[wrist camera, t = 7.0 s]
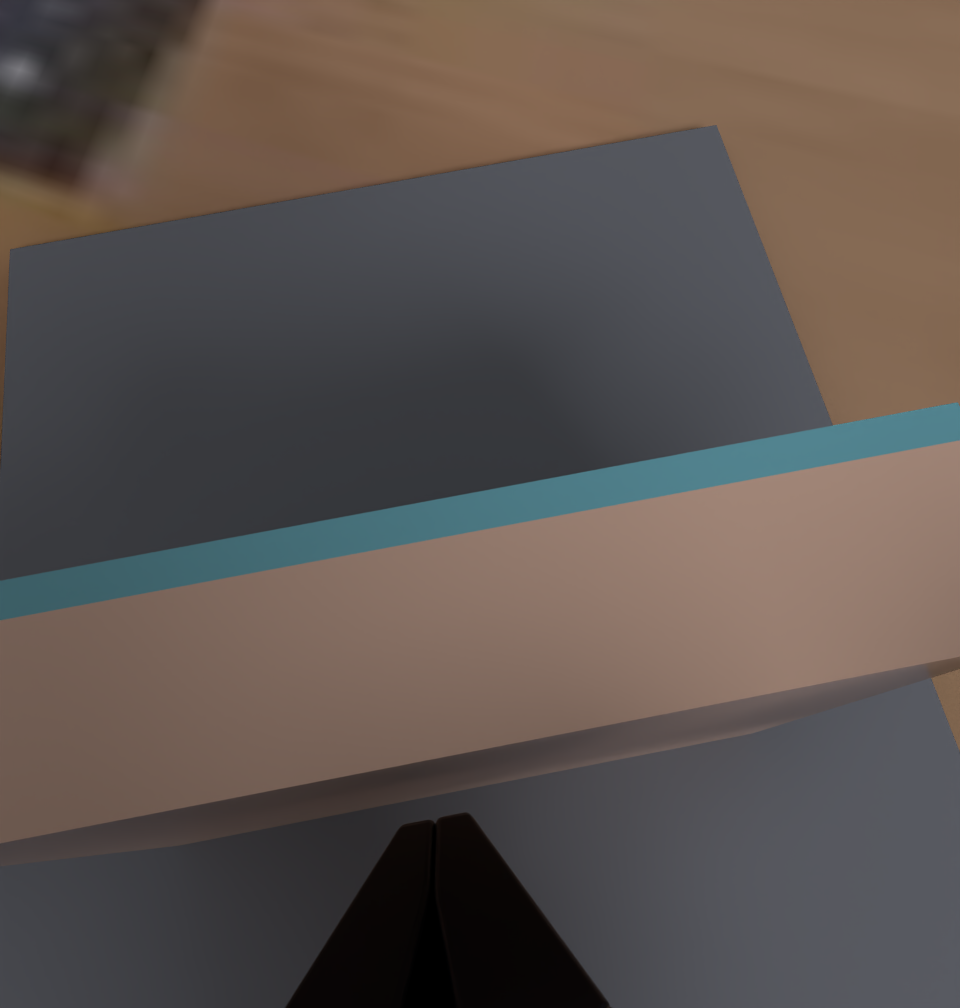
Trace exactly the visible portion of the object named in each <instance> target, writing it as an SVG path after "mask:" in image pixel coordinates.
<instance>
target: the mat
mask: <svg viewBox="0 0 960 1008" xmlns="http://www.w3.org/2000/svg"><path fill="white" fill-rule="evenodd" d="M828 426H833V425H832V422H831V419H830V417H829V414H828V412H827V409H826V407H825V404H824V401H823V399H822V396H821V394H820V391H819V389H818V386H817V383H816V381H815V378H814V376H813V373H812V370H811V368H810V365H809V363H808V360H807V358H806V355H805V352H804V350H803V347H802V345H801V342H800V340H799V337H798V334H797V332H796V329H795V327H794V324H793V322H792V319H791V316H790V314H789V311H788V309H787V306H786V304H785V301H784V298H783V296H782V293H781V291H780V288H779V285H778V283H777V280H776V278H775V275H774V273H773V270H772V267H771V265H770V262H769V260H768V257H767V255H766V252H765V249H764V247H763V244H762V242H761V239H760V237H759V234H758V231H757V229H756V226H755V224H754V221H753V218H752V216H751V213H750V211H749V208H748V206H747V203H746V200H745V198H744V195H743V193H742V190H741V188H740V185H739V182H738V180H737V177H736V175H735V172H734V170H733V167H732V164H731V162H730V159H729V157H728V154H727V152H726V149H725V146H724V144H723V141H722V139H721V136H720V133H719V131H718V128H717V126H716V125H714V126H709V127H703V128H697V129H692V130H686V131H680V132H675V133H669V134H663V135H658V136H652V137H646V138H641V139H635V140H629V141H624V142H618V143H612V144H606V145H601V146H595V147H589V148H584V149H578V150H572V151H567V152H561V153H555V154H550V155H544V156H538V157H533V158H527V159H521V160H516V161H510V162H504V163H499V164H493V165H487V166H482V167H476V168H470V169H465V170H459V171H453V172H448V173H442V174H436V175H430V176H425V177H419V178H413V179H408V180H402V181H396V182H391V183H385V184H379V185H374V186H368V187H362V188H357V189H351V190H345V191H340V192H334V193H328V194H323V195H317V196H311V197H306V198H300V199H294V200H289V201H283V202H277V203H272V204H266V205H260V206H254V207H249V208H243V209H237V210H232V211H226V212H220V213H215V214H209V215H203V216H198V217H192V218H186V219H181V220H175V221H169V222H164V223H158V224H152V225H147V226H141V227H135V228H130V229H124V230H118V231H113V232H107V233H101V234H96V235H90V236H84V237H79V238H73V239H67V240H61V241H56V242H50V243H44V244H39V245H33V246H27V247H22V248H16V249H10V264H9V287H8V309H7V332H6V355H5V378H4V401H3V423H2V446H1V469H0V581H2V580H7V579H13V578H18V577H23V576H29V575H34V574H40V573H45V572H50V571H56V570H61V569H66V568H72V567H77V566H82V565H88V564H93V563H99V562H104V561H109V560H115V559H120V558H125V557H131V556H136V555H141V554H147V553H152V552H158V551H163V550H168V549H174V548H179V547H184V546H190V545H195V544H200V543H206V542H211V541H217V540H222V539H227V538H233V537H238V536H243V535H249V534H254V533H260V532H265V531H270V530H276V529H281V528H286V527H292V526H297V525H302V524H308V523H313V522H319V521H324V520H329V519H335V518H340V517H345V516H351V515H356V514H361V513H367V512H372V511H378V510H383V509H388V508H394V507H399V506H404V505H410V504H415V503H420V502H426V501H431V500H437V499H442V498H447V497H453V496H458V495H463V494H469V493H474V492H479V491H485V490H490V489H496V488H501V487H506V486H512V485H517V484H522V483H528V482H533V481H538V480H544V479H549V478H555V477H560V476H565V475H571V474H576V473H581V472H587V471H592V470H598V469H603V468H608V467H614V466H619V465H624V464H630V463H635V462H640V461H646V460H651V459H657V458H662V457H667V456H673V455H678V454H683V453H689V452H694V451H699V450H705V449H710V448H716V447H721V446H726V445H732V444H737V443H742V442H748V441H753V440H758V439H764V438H769V437H775V436H780V435H785V434H791V433H796V432H801V431H807V430H812V429H817V428H823V427H828ZM463 812H467V813H470V814H471V815H472V816H473V818H474V819H475V820H476V822H477V823H478V824H479V826H480V827H481V829H482V830H483V831H484V833H485V834H486V835H487V837H488V838H489V839H490V841H491V842H492V844H493V845H494V846H495V848H496V849H497V850H498V852H499V853H500V854H501V856H502V857H503V859H504V860H505V861H506V863H507V864H508V865H509V867H510V868H511V869H512V871H513V872H514V874H515V875H516V876H517V878H518V879H519V880H520V882H521V883H522V885H523V886H524V887H525V889H526V890H527V891H528V893H529V894H530V895H531V897H532V898H533V900H534V901H535V902H536V904H537V905H538V906H539V908H540V909H541V910H542V912H543V913H544V915H545V916H546V917H547V919H548V920H549V921H550V923H551V924H552V925H553V927H554V928H555V930H556V931H557V932H558V934H559V935H560V936H561V938H562V939H563V941H564V942H565V943H566V945H567V946H568V947H569V949H570V950H571V951H572V953H573V954H574V956H575V957H576V958H577V960H578V961H579V962H580V964H581V965H582V966H583V968H584V969H585V971H586V972H587V973H588V975H589V976H590V977H591V979H592V980H593V981H594V983H595V984H596V986H597V987H598V988H599V990H600V991H601V992H602V994H603V995H604V997H605V998H606V999H607V1001H608V1002H609V1004H610V1007H613V1008H960V752H959V749H958V747H957V744H956V741H955V739H954V736H953V734H952V731H951V729H950V726H949V723H948V721H947V718H946V716H945V713H944V711H943V708H942V705H941V703H940V700H939V698H938V695H937V693H936V690H935V687H934V685H933V682H932V680H931V678H929V679H926V680H923V681H919V682H916V683H913V684H910V685H906V686H903V687H900V688H897V689H894V690H890V691H887V692H884V693H881V694H878V695H874V696H871V697H868V698H865V699H861V700H858V701H855V702H852V703H849V704H845V705H842V706H839V707H836V708H833V709H829V710H826V711H823V712H820V713H816V714H813V715H810V716H807V717H804V718H800V719H797V720H794V721H791V722H788V723H784V724H781V725H778V726H775V727H771V728H768V729H765V730H762V731H759V732H755V733H752V734H747V735H742V736H737V737H732V738H727V739H721V740H716V741H711V742H706V743H701V744H696V745H691V746H686V747H681V748H675V749H670V750H665V751H660V752H655V753H650V754H645V755H640V756H635V757H629V758H624V759H619V760H614V761H609V762H604V763H599V764H594V765H589V766H583V767H578V768H573V769H568V770H563V771H558V772H553V773H548V774H543V775H537V776H532V777H527V778H522V779H517V780H512V781H507V782H502V783H497V784H491V785H486V786H481V787H476V788H471V789H466V790H461V791H456V792H451V793H445V794H440V795H435V796H430V797H425V798H420V799H415V800H410V801H405V802H400V803H394V804H389V805H384V806H379V807H374V808H369V809H364V810H359V811H354V812H348V813H343V814H338V815H333V816H328V817H323V818H318V819H313V820H308V821H302V822H297V823H292V824H287V825H282V826H277V827H272V828H267V829H262V830H256V831H251V832H246V833H241V834H236V835H231V836H226V837H221V838H216V839H210V840H205V841H200V842H195V843H190V844H185V845H180V846H172V847H163V848H155V849H146V850H137V851H129V852H120V853H111V854H103V855H94V856H85V857H77V858H68V859H59V860H51V861H42V862H33V863H25V864H16V865H7V866H0V1008H285V1006H286V1005H287V1003H288V1002H289V1000H290V998H291V997H292V995H293V994H294V992H295V991H296V989H297V987H298V986H299V984H300V983H301V981H302V980H303V978H304V976H305V975H306V973H307V972H308V970H309V968H310V967H311V965H312V964H313V962H314V961H315V959H316V957H317V956H318V954H319V953H320V951H321V950H322V948H323V946H324V945H325V943H326V942H327V940H328V939H329V937H330V935H331V934H332V932H333V931H334V929H335V927H336V926H337V924H338V923H339V921H340V920H341V918H342V916H343V915H344V913H345V912H346V910H347V909H348V907H349V905H350V904H351V902H352V901H353V899H354V898H355V896H356V894H357V893H358V891H359V890H360V888H361V887H362V885H363V883H364V882H365V880H366V879H367V877H368V875H369V874H370V872H371V871H372V869H373V868H374V866H375V864H376V863H377V861H378V860H379V858H380V857H381V855H382V853H383V852H384V850H385V849H386V847H387V846H388V844H389V842H390V841H391V839H392V838H393V836H394V834H395V833H396V831H397V830H398V829H399V827H400V826H402V825H403V824H407V823H412V822H417V821H422V820H428V819H431V820H433V821H434V822H435V824H436V821H437V819H438V818H440V817H443V816H448V815H453V814H458V813H463Z"/></svg>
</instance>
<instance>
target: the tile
mask: <svg viewBox="0 0 960 1008" xmlns="http://www.w3.org/2000/svg"><path fill="white" fill-rule="evenodd" d="M958 669H960V407H959V404H958V402H957V403H952V404H946V405H941V406H936V407H930V408H925V409H919V410H914V411H909V412H903V413H898V414H893V415H887V416H882V417H876V418H871V419H866V420H860V421H855V422H850V423H844V424H839V425H834V426H828V427H823V428H817V429H812V430H807V431H801V432H796V433H791V434H785V435H780V436H775V437H769V438H764V439H758V440H753V441H748V442H742V443H737V444H732V445H726V446H721V447H716V448H710V449H705V450H699V451H694V452H689V453H683V454H678V455H673V456H667V457H662V458H657V459H651V460H646V461H640V462H635V463H630V464H624V465H619V466H614V467H608V468H603V469H598V470H592V471H587V472H581V473H576V474H571V475H565V476H560V477H555V478H549V479H544V480H538V481H533V482H528V483H522V484H517V485H512V486H506V487H501V488H496V489H490V490H485V491H479V492H474V493H469V494H463V495H458V496H453V497H447V498H442V499H437V500H431V501H426V502H420V503H415V504H410V505H404V506H399V507H394V508H388V509H383V510H378V511H372V512H367V513H361V514H356V515H351V516H345V517H340V518H335V519H329V520H324V521H319V522H313V523H308V524H302V525H297V526H292V527H286V528H281V529H276V530H270V531H265V532H260V533H254V534H249V535H243V536H238V537H233V538H227V539H222V540H217V541H211V542H206V543H200V544H195V545H190V546H184V547H179V548H174V549H168V550H163V551H158V552H152V553H147V554H141V555H136V556H131V557H125V558H120V559H115V560H109V561H104V562H99V563H93V564H88V565H82V566H77V567H72V568H66V569H61V570H56V571H50V572H45V573H40V574H34V575H29V576H23V577H18V578H13V579H7V580H2V581H0V866H7V865H16V864H25V863H33V862H42V861H51V860H59V859H68V858H77V857H85V856H94V855H103V854H111V853H120V852H129V851H137V850H146V849H155V848H163V847H172V846H180V845H185V844H190V843H195V842H200V841H205V840H210V839H216V838H221V837H226V836H231V835H236V834H241V833H246V832H251V831H256V830H262V829H267V828H272V827H277V826H282V825H287V824H292V823H297V822H302V821H308V820H313V819H318V818H323V817H328V816H333V815H338V814H343V813H348V812H354V811H359V810H364V809H369V808H374V807H379V806H384V805H389V804H394V803H400V802H405V801H410V800H415V799H420V798H425V797H430V796H435V795H440V794H445V793H451V792H456V791H461V790H466V789H471V788H476V787H481V786H486V785H491V784H497V783H502V782H507V781H512V780H517V779H522V778H527V777H532V776H537V775H543V774H548V773H553V772H558V771H563V770H568V769H573V768H578V767H583V766H589V765H594V764H599V763H604V762H609V761H614V760H619V759H624V758H629V757H635V756H640V755H645V754H650V753H655V752H660V751H665V750H670V749H675V748H681V747H686V746H691V745H696V744H701V743H706V742H711V741H716V740H721V739H727V738H732V737H737V736H742V735H747V734H752V733H755V732H759V731H762V730H765V729H768V728H771V727H775V726H778V725H781V724H784V723H788V722H791V721H794V720H797V719H800V718H804V717H807V716H810V715H813V714H816V713H820V712H823V711H826V710H829V709H833V708H836V707H839V706H842V705H845V704H849V703H852V702H855V701H858V700H861V699H865V698H868V697H871V696H874V695H878V694H881V693H884V692H887V691H890V690H894V689H897V688H900V687H903V686H906V685H910V684H913V683H916V682H919V681H923V680H926V679H929V678H932V677H935V676H939V675H942V674H945V673H948V672H952V671H955V670H958Z"/></svg>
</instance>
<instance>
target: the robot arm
mask: <svg viewBox="0 0 960 1008" xmlns="http://www.w3.org/2000/svg"><path fill="white" fill-rule="evenodd" d="M285 1008H613V1007H610V1004H609V1002H608V1001H607V999H606V998H605V997H604V995H603V994H602V992H601V991H600V990H599V988H598V987H597V986H596V984H595V983H594V981H593V980H592V979H591V977H590V976H589V975H588V973H587V972H586V971H585V969H584V968H583V966H582V965H581V964H580V962H579V961H578V960H577V958H576V957H575V956H574V954H573V953H572V951H571V950H570V949H569V947H568V946H567V945H566V943H565V942H564V941H563V939H562V938H561V936H560V935H559V934H558V932H557V931H556V930H555V928H554V927H553V925H552V924H551V923H550V921H549V920H548V919H547V917H546V916H545V915H544V913H543V912H542V910H541V909H540V908H539V906H538V905H537V904H536V902H535V901H534V900H533V898H532V897H531V895H530V894H529V893H528V891H527V890H526V889H525V887H524V886H523V885H522V883H521V882H520V880H519V879H518V878H517V876H516V875H515V874H514V872H513V871H512V869H511V868H510V867H509V865H508V864H507V863H506V861H505V860H504V859H503V857H502V856H501V854H500V853H499V852H498V850H497V849H496V848H495V846H494V845H493V844H492V842H491V841H490V839H489V838H488V837H487V835H486V834H485V833H484V831H483V830H482V829H481V827H480V826H479V824H478V823H477V822H476V820H475V819H474V818H473V816H472V815H471V814H470V813H467V812H463V813H458V814H453V815H448V816H443V817H440V818H438V819H437V821H436V824H435V822H434V821H433V820H431V819H428V820H422V821H417V822H412V823H407V824H403V825H402V826H400V827H399V829H398V830H397V831H396V833H395V834H394V836H393V838H392V839H391V841H390V842H389V844H388V846H387V847H386V849H385V850H384V852H383V853H382V855H381V857H380V858H379V860H378V861H377V863H376V864H375V866H374V868H373V869H372V871H371V872H370V874H369V875H368V877H367V879H366V880H365V882H364V883H363V885H362V887H361V888H360V890H359V891H358V893H357V894H356V896H355V898H354V899H353V901H352V902H351V904H350V905H349V907H348V909H347V910H346V912H345V913H344V915H343V916H342V918H341V920H340V921H339V923H338V924H337V926H336V927H335V929H334V931H333V932H332V934H331V935H330V937H329V939H328V940H327V942H326V943H325V945H324V946H323V948H322V950H321V951H320V953H319V954H318V956H317V957H316V959H315V961H314V962H313V964H312V965H311V967H310V968H309V970H308V972H307V973H306V975H305V976H304V978H303V980H302V981H301V983H300V984H299V986H298V987H297V989H296V991H295V992H294V994H293V995H292V997H291V998H290V1000H289V1002H288V1003H287V1005H286V1006H285Z"/></svg>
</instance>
